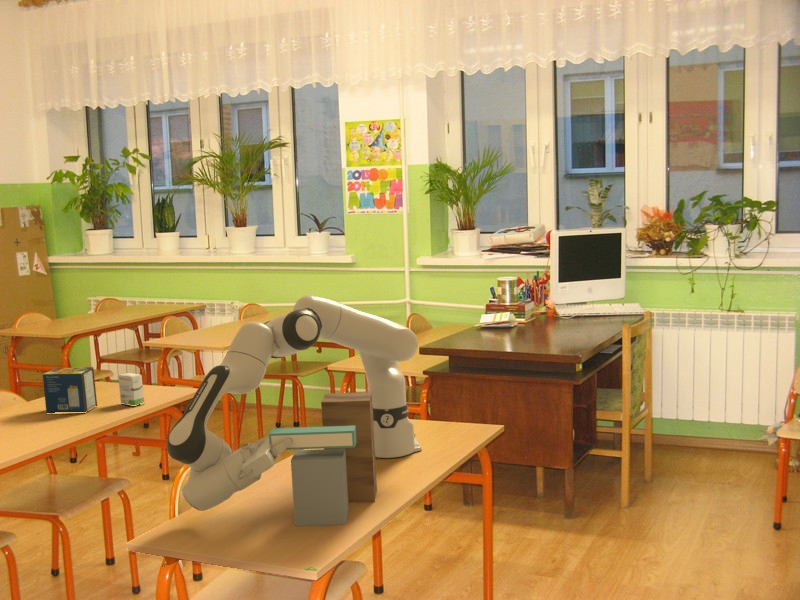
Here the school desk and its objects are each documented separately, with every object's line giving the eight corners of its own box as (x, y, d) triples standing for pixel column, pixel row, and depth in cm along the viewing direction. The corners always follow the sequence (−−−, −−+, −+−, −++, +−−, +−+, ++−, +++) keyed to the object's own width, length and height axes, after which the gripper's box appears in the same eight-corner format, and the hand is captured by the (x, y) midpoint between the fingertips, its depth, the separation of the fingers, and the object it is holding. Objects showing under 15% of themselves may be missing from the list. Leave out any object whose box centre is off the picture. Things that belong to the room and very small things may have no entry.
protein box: (59, 407, 338) (55, 367, 336) (97, 406, 337) (94, 366, 335) (45, 415, 328) (41, 373, 326) (85, 414, 326) (81, 372, 324)
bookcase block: (331, 490, 232) (325, 393, 228) (377, 489, 231) (371, 391, 228) (327, 503, 223) (321, 402, 220) (374, 501, 222) (369, 400, 219)
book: (273, 444, 213) (272, 428, 212) (356, 441, 212) (355, 425, 212) (269, 450, 208) (268, 433, 208) (354, 447, 208) (353, 430, 207)
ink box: (145, 404, 337) (142, 374, 335) (134, 407, 333) (131, 376, 331) (131, 402, 342) (128, 372, 341) (120, 404, 338) (117, 374, 337)
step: (299, 513, 217) (295, 450, 215) (348, 512, 216) (345, 448, 214) (295, 526, 209) (290, 460, 207) (345, 524, 208) (342, 458, 206)
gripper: (227, 470, 201) (278, 438, 199) (246, 443, 221) (292, 414, 220) (243, 492, 201) (293, 461, 200) (260, 464, 222) (306, 435, 220)
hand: (293, 436), depth 210 cm, fingers closed on book, 5 cm apart
